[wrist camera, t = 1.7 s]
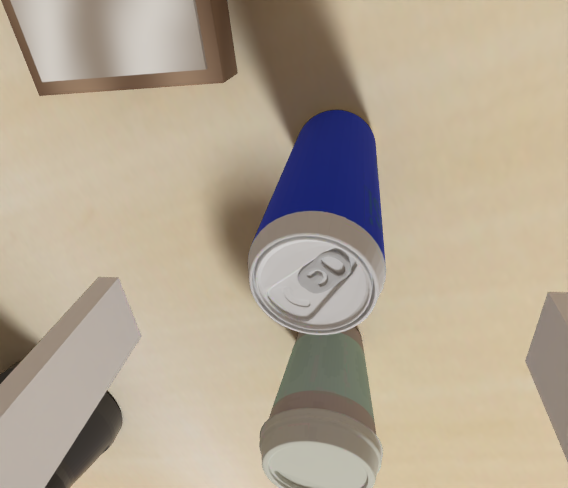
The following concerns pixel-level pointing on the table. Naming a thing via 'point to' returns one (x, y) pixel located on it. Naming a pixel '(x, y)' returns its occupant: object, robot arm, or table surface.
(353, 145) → the beverage can
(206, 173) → the table surface
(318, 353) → the coffee cup
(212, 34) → the stand
